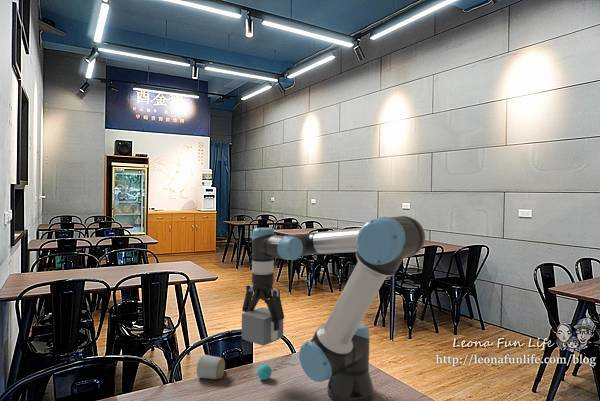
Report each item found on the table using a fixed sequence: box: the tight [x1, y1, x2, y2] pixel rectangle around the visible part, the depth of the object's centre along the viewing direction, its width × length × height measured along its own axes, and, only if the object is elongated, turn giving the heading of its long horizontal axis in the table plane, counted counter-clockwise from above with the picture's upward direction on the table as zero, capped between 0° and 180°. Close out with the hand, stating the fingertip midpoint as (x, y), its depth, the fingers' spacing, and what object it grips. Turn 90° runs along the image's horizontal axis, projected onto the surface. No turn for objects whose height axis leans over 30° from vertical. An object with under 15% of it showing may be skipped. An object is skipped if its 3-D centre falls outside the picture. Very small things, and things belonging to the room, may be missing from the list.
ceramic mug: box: [196, 354, 226, 380], centre depth 143 cm, size 11×8×8 cm
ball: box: [256, 363, 273, 381], centre depth 140 cm, size 5×5×5 cm
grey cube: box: [241, 306, 284, 347], centre depth 139 cm, size 10×10×9 cm
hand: (262, 335), depth 139 cm, fingers closed on grey cube, 10 cm apart
